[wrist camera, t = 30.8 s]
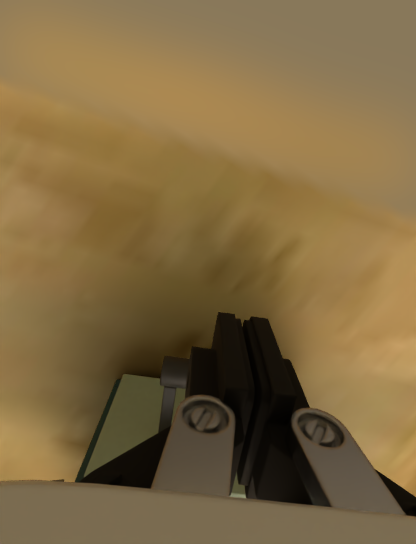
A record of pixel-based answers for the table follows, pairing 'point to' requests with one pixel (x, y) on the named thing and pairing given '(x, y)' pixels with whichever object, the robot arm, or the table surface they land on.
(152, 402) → the drawer
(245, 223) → the table surface
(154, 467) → the robot arm
